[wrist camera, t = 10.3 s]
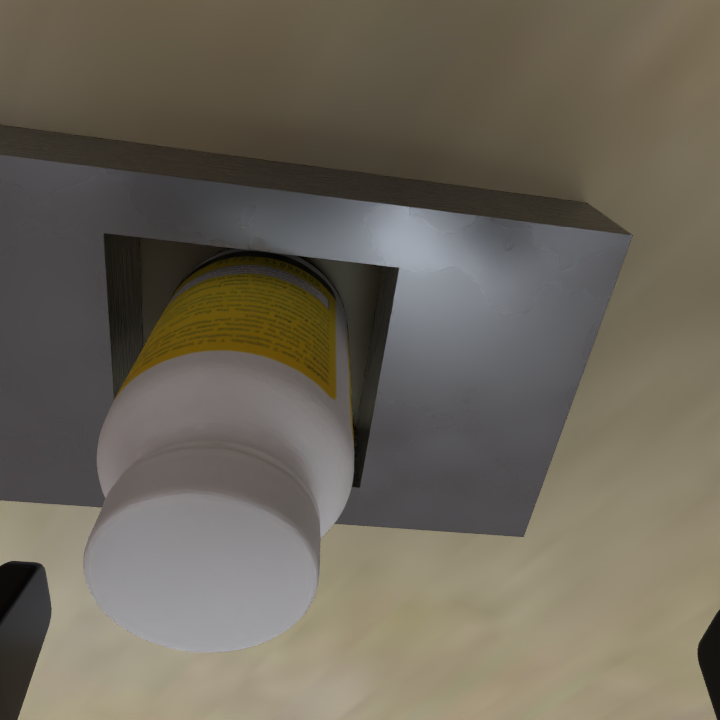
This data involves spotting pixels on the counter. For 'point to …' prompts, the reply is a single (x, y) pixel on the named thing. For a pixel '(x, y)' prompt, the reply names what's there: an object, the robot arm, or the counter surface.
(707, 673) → the robot arm
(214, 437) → the supplement bottle
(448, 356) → the grey slab with hole
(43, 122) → the counter surface
